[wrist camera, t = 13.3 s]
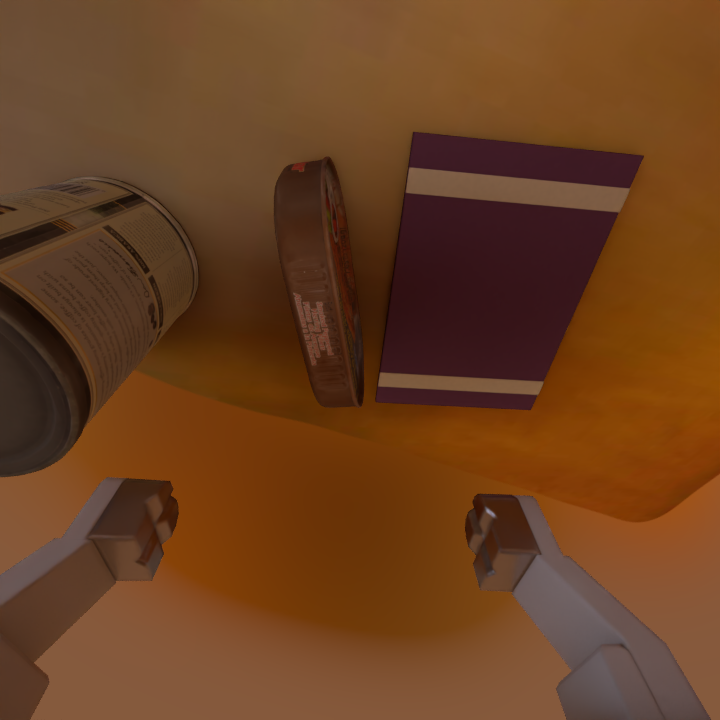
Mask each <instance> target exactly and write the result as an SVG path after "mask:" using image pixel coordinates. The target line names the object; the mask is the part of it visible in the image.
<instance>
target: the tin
mask: <svg viewBox="0 0 720 720" xmlns="http://www.w3.org/2000/svg"><path fill="white" fill-rule="evenodd" d="M274 223H275V233H276V241H277V247H278V253H279V259H280V264H281V268H282V273H283V277H284V281H285V285H286V289H287V293H288V297H289V302H290V306H291V310H292V314H293V318H294V322H295V326H296V330H297V333H298V337H299V342H300V345H301V349H302V353H303V357H304V361H305V365H306V368H307V372H308V376H309V380H310V383H311V387H312V390H313V393H314V395H315V397H316V399H317V401H318V402H319V403H320V404H321V405H322V406H324V407H329V408H331V407H350V406H356V407H361V406H362V403H363V397H364V361H363V341H362V331H361V323H360V315H359V307H358V300H357V293H356V286H355V278H354V272H353V264H352V257H351V249H350V242H349V235H348V228H347V220H346V213H345V208H344V203H343V197H342V192H341V187H340V183H339V179H338V176H337V172H336V169H335V166H334V164H333V162H332V160H331V158H330V157H325V158H324V159H323V160H318V161H311V162H303V163H296V164H291V165H288V166H286V167H285V168H284V170H283V171H282V173H281V175H280V176H279V178H278V180H277V182H276V186H275V194H274Z"/></svg>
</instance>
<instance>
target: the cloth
mask: <svg viewBox="0 0 720 720" xmlns="http://www.w3.org/2000/svg"><path fill="white" fill-rule="evenodd" d="M643 157H644V156H641V155H631V154H622V153H612V152H602V151H593V150H583V149H573V148H564V147H554V146H544V145H535V144H525V143H515V142H506V141H496V140H486V139H477V138H467V137H457V136H448V135H438V134H428V133H419V132H413V138H412V145H411V152H410V159H409V166H408V173H407V180H406V187H405V194H404V202H403V209H402V216H401V223H400V230H399V237H398V244H397V251H396V258H395V265H394V272H393V279H392V286H391V294H390V301H389V308H388V315H387V322H386V329H385V336H384V343H383V350H382V357H381V364H380V371H379V378H378V386H377V393H376V402H382V403H402V404H421V405H441V406H461V407H481V408H501V409H521V410H531V408H532V406H533V404H534V402H535V399H536V397H537V395H538V394H539V392H540V390H541V388H542V385H543V383H544V382H543V381H544V379H545V377H546V375H547V372H548V370H549V368H550V366H551V363H552V361H553V359H554V357H555V354H556V352H557V350H558V348H559V345H560V343H561V341H562V339H563V337H564V334H565V332H566V330H567V328H568V325H569V323H570V321H571V319H572V316H573V314H574V312H575V310H576V307H577V305H578V303H579V301H580V298H581V296H582V294H583V292H584V289H585V287H586V285H587V283H588V280H589V278H590V276H591V274H592V272H593V269H594V267H595V265H596V263H597V260H598V258H599V256H600V254H601V251H602V249H603V247H604V245H605V242H606V240H607V238H608V236H609V233H610V231H611V229H612V227H613V224H614V222H615V220H616V218H617V215H618V213H619V212H620V211H621V209H622V207H623V204H624V202H625V200H626V198H627V195H628V193H629V191H630V186H631V184H632V182H633V180H634V177H635V175H636V173H637V171H638V168H639V166H640V164H641V162H642V159H643Z"/></svg>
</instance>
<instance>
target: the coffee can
mask: <svg viewBox="0 0 720 720" xmlns="http://www.w3.org/2000/svg"><path fill="white" fill-rule="evenodd" d="M197 287H198V264H197V260H196V256H195V253H194V250H193V248H192V245H191V243H190V241H189V239H188V237H187V236H186V234H185V233H184V231H183V229H182V227H181V226H180V224H179V223H178V222H177V221H176V220H175V219H174V218H173V217H172V215H171V214H170V213H169V212H168V211H167V210H166V209H165V208H164V207H163V206H162V205H161V204H159V203H158V202H157V201H156V200H154V199H153V198H151V197H150V196H149V195H147V194H146V193H144V192H142V191H140V190H139V189H137V188H135V187H133V186H130V185H128V184H126V183H124V182H121V181H117V180H113V179H108V178H103V177H78V178H73V179H69V180H66V181H63V182H61V183H57V184H53V185H48V186H43V187H38V188H33V189H28V190H24V191H20V192H15V193H11V194H6V195H1V196H0V477H10V476H19V475H24V474H28V473H32V472H36V471H39V470H42V469H44V468H46V467H48V466H50V465H52V464H54V463H55V462H57V461H58V460H60V459H61V458H62V457H63V456H65V455H66V453H67V452H68V451H69V450H70V449H71V448H72V447H73V445H74V444H75V443H76V441H77V440H78V438H79V437H80V435H81V433H82V431H83V429H84V427H85V426H86V425H87V424H88V423H89V422H90V420H91V419H92V418H93V417H94V416H95V415H96V413H97V412H98V411H99V410H100V409H101V408H102V406H103V405H104V404H105V403H106V402H107V401H108V399H109V398H110V397H111V396H112V395H113V394H114V392H115V391H116V390H117V389H118V387H119V386H120V385H121V384H122V383H123V382H124V381H125V380H126V378H127V377H128V376H129V375H130V374H131V372H132V371H133V370H134V369H135V368H136V367H137V365H138V364H139V363H140V362H141V361H142V359H143V358H144V357H145V356H146V355H147V354H148V353H149V351H150V350H151V349H152V348H153V347H154V345H155V344H156V343H157V342H158V341H159V339H160V338H161V337H162V336H163V335H164V334H165V332H166V331H167V330H168V329H169V328H170V326H171V325H172V324H173V323H174V322H175V320H176V319H177V318H178V317H179V316H180V315H181V314H183V313H184V312H185V311H186V310H187V308H188V307H189V306H190V304H191V303H192V301H193V299H194V297H195V294H196V291H197Z"/></svg>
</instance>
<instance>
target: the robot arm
mask: <svg viewBox="0 0 720 720" xmlns="http://www.w3.org/2000/svg"><path fill="white" fill-rule="evenodd" d="M172 491H173V487H172V485H171V482H170V481H160V480H145V479H129V478H110V477H107V478H106V479H105V480H103V481H102V482H101V483H100V484H99V485H98V487H97V488H96V490H95V491H94V493H93V494H92V495H91V497H90V498H89V500H88V501H87V503H86V504H85V505H84V507H83V508H82V510H81V511H80V513H79V514H78V515H77V517H76V518H75V519H74V521H73V522H72V524H71V525H70V527H69V528H68V529H67V531H66V532H65V534H64V535H63V537H62V538H56V539H55V538H54V539H53V540H52V541H50V542H49V543H47V544H46V545H44V546H43V547H41V548H40V549H38V550H37V551H35V552H34V553H32V554H31V555H29V556H28V557H26V558H25V559H23V560H22V561H20V562H19V563H17V564H16V565H14V566H13V567H11V568H10V569H8V570H7V571H5V572H4V573H3V574H1V575H0V720H30V719H31V717H32V715H33V713H34V711H35V709H36V707H37V706H38V704H39V702H40V700H41V698H42V696H43V694H44V692H45V690H46V688H47V687H48V685H49V678H48V675H47V674H45V673H44V672H43V671H42V670H41V669H40V668H39V667H38V666H37V665H35V664H34V662H35V661H36V660H37V659H38V658H39V657H40V656H41V655H42V654H43V653H44V652H45V651H46V650H47V649H48V648H49V647H50V646H52V645H53V644H54V643H55V642H56V641H57V640H58V639H59V638H60V637H61V636H62V635H63V634H64V633H65V632H66V631H67V630H68V629H69V628H70V627H71V626H72V625H73V624H74V623H75V622H76V621H77V620H78V619H79V618H80V617H81V616H82V615H83V614H84V613H86V612H87V611H88V610H89V609H90V608H91V607H92V606H93V605H94V604H95V603H96V602H97V601H98V600H99V599H100V598H101V597H102V596H103V595H104V594H105V593H106V592H107V591H108V590H109V589H110V588H111V587H112V586H113V585H114V584H115V583H116V581H152V579H153V577H154V575H155V572H156V570H157V568H158V566H159V564H160V561H161V559H162V557H163V555H164V552H163V549H162V544H163V543H164V542H165V541H166V540H168V539H169V538H170V537H171V536H172V534H173V531H174V529H175V527H176V523H177V519H178V514H179V512H178V503H177V500H176V499H175V498H174V497H172V496H171V493H172ZM473 506H474V508H473V509H472V510H470V511H469V512H468V514H467V517H466V522H465V532H466V539H467V543H468V547H469V548H470V549H471V550H472V551H473V552H474V553H475V555H476V558H475V560H474V563H473V565H474V569H475V573H476V577H477V580H478V583H479V588H480V590H488V591H489V590H490V591H505V592H512V595H513V596H514V597H515V599H516V600H517V601H518V602H519V604H520V605H521V606H522V607H523V609H524V610H525V611H526V613H527V614H528V615H529V616H530V618H531V619H532V620H533V622H534V623H535V624H536V625H537V627H538V628H539V629H540V631H541V632H542V633H543V634H544V636H545V637H546V638H547V639H548V641H549V642H550V643H551V645H552V646H553V647H554V648H555V650H556V651H557V652H558V653H559V655H560V656H561V657H562V659H563V660H564V661H565V663H566V664H567V665H568V666H569V668H570V669H571V670H572V671H571V672H570V673H569V674H568V675H567V676H566V677H565V678H564V679H563V680H561V681H560V682H559V684H558V686H557V688H556V690H557V693H558V696H559V699H560V702H561V705H562V707H563V710H564V713H565V716H566V719H567V720H711V719H710V717H709V715H708V714H707V712H706V710H705V709H704V707H703V705H702V704H701V702H700V700H699V698H698V697H697V695H696V693H695V692H694V690H693V688H692V687H691V685H690V683H689V682H688V680H687V678H686V676H685V675H684V673H683V671H682V670H681V668H680V666H679V665H678V663H677V662H676V660H675V658H674V656H673V655H672V653H671V651H670V649H669V648H668V646H667V644H666V643H665V642H664V641H662V640H661V639H660V638H659V637H658V636H657V635H656V634H655V633H654V632H653V631H651V630H650V629H649V628H648V627H647V626H646V625H645V624H644V623H643V622H641V621H640V620H639V619H638V618H637V617H636V616H635V615H634V614H633V613H631V612H630V611H629V610H628V609H627V608H626V607H625V606H624V605H623V604H621V603H620V602H619V601H618V600H617V599H616V598H615V597H614V596H613V595H611V594H610V593H609V592H608V591H607V590H605V588H604V587H603V586H602V585H600V584H599V583H598V582H597V581H596V580H595V579H594V578H593V577H592V576H590V575H589V574H588V573H587V572H586V571H585V570H584V569H583V568H582V567H580V566H579V565H578V564H577V563H576V562H575V561H574V560H573V559H572V558H571V557H569V556H563V554H562V552H561V550H560V548H559V546H558V544H557V542H556V540H555V538H554V535H553V534H552V531H551V529H550V527H549V525H548V523H547V521H546V519H545V517H544V515H543V513H542V511H541V509H540V507H539V505H538V503H537V500H536V499H535V498H534V497H533V496H513V495H502V494H477V495H476V496H475V497H474V499H473Z"/></svg>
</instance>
